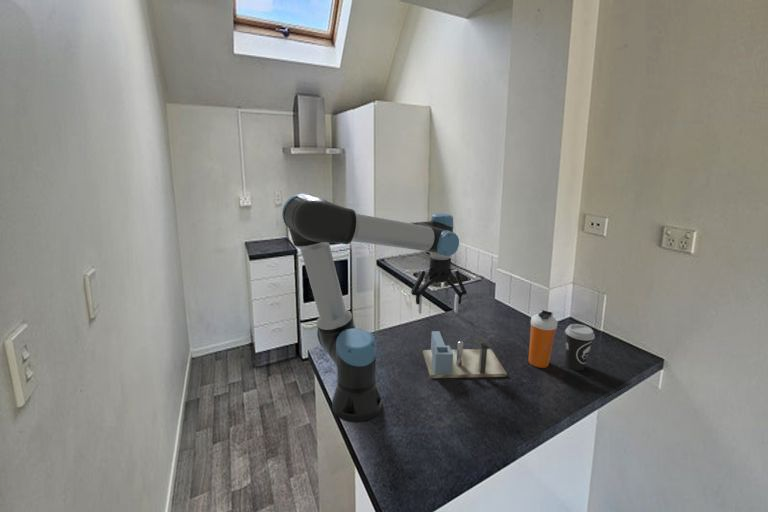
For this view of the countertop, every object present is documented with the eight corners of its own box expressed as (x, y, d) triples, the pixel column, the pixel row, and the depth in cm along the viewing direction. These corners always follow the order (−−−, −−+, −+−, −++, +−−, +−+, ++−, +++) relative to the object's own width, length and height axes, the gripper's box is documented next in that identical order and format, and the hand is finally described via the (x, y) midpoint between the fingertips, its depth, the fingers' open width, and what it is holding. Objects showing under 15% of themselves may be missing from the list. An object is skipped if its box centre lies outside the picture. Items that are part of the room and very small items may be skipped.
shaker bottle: (524, 365, 138) (530, 315, 132) (527, 354, 145) (533, 306, 140) (550, 371, 134) (557, 320, 128) (552, 360, 141) (559, 311, 136)
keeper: (477, 376, 131) (480, 346, 127) (472, 364, 137) (474, 336, 134) (486, 376, 131) (489, 345, 127) (480, 364, 138) (482, 336, 134)
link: (451, 374, 129) (453, 354, 127) (434, 375, 129) (435, 354, 127) (442, 349, 146) (443, 331, 143) (426, 349, 145) (427, 331, 143)
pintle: (456, 369, 134) (458, 343, 132) (455, 366, 136) (457, 340, 134) (462, 369, 135) (464, 343, 132) (460, 366, 136) (462, 340, 134)
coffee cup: (582, 359, 142) (588, 323, 138) (593, 373, 133) (600, 335, 129) (556, 358, 143) (562, 322, 139) (565, 372, 134) (571, 334, 130)
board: (430, 378, 129) (430, 375, 129) (423, 352, 145) (423, 350, 145) (506, 376, 130) (506, 373, 130) (490, 351, 147) (491, 349, 146)
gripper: (407, 260, 129) (405, 316, 135) (477, 259, 130) (473, 315, 136) (404, 254, 136) (403, 308, 142) (471, 254, 137) (468, 307, 143)
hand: (437, 311), depth 139 cm, fingers open, 13 cm apart
